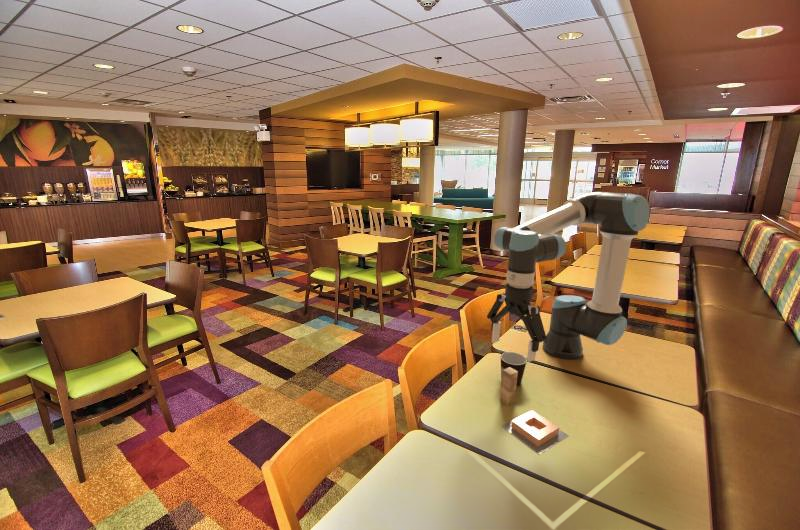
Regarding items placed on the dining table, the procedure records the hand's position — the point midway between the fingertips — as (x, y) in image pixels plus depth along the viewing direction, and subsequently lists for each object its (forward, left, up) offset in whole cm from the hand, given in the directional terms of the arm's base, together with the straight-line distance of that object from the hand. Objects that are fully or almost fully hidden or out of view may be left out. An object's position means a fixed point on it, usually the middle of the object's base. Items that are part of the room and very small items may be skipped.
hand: (512, 350), depth 114 cm
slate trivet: (+4, +13, -19) cm, 24 cm away
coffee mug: (-11, -8, -19) cm, 24 cm away
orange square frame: (+4, +13, -18) cm, 23 cm away
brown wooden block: (0, 0, -19) cm, 19 cm away
